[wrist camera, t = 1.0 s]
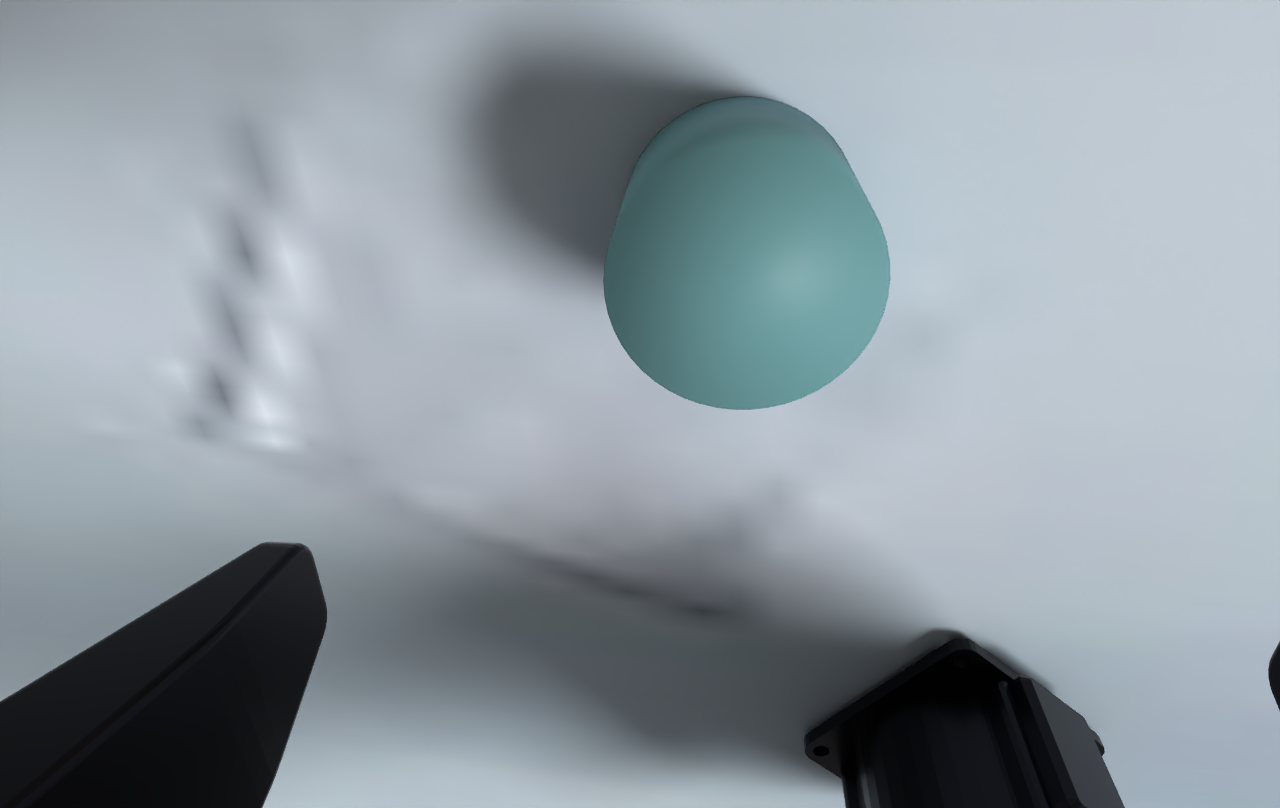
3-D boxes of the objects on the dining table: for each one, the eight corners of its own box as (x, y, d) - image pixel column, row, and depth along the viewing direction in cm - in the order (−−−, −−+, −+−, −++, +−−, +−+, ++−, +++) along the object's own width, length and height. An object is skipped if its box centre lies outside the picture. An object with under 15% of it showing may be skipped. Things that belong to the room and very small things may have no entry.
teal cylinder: (746, 360, 20) (752, 454, 16) (579, 229, 19) (548, 301, 15) (906, 203, 18) (951, 273, 14) (730, 41, 16) (734, 76, 13)
